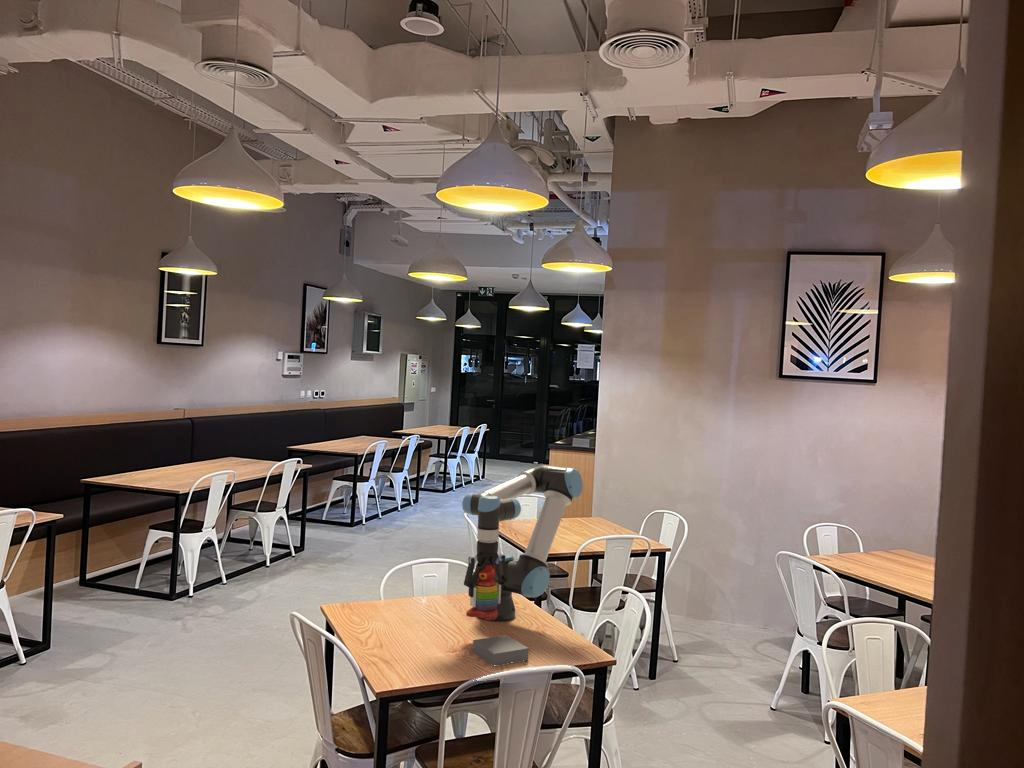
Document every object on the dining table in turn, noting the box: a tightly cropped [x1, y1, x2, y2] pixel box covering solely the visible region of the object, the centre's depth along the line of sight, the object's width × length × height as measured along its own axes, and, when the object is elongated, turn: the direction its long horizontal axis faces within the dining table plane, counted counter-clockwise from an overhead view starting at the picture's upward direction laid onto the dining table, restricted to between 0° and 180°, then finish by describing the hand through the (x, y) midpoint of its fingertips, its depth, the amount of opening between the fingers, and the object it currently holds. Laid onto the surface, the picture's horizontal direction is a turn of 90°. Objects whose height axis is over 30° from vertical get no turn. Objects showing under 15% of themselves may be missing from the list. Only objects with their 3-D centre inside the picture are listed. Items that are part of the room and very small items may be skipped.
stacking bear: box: [465, 564, 499, 621], centre depth 254 cm, size 11×10×18 cm
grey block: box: [472, 634, 530, 667], centre depth 237 cm, size 13×14×4 cm
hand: (485, 604), depth 254 cm, fingers closed on stacking bear, 9 cm apart
